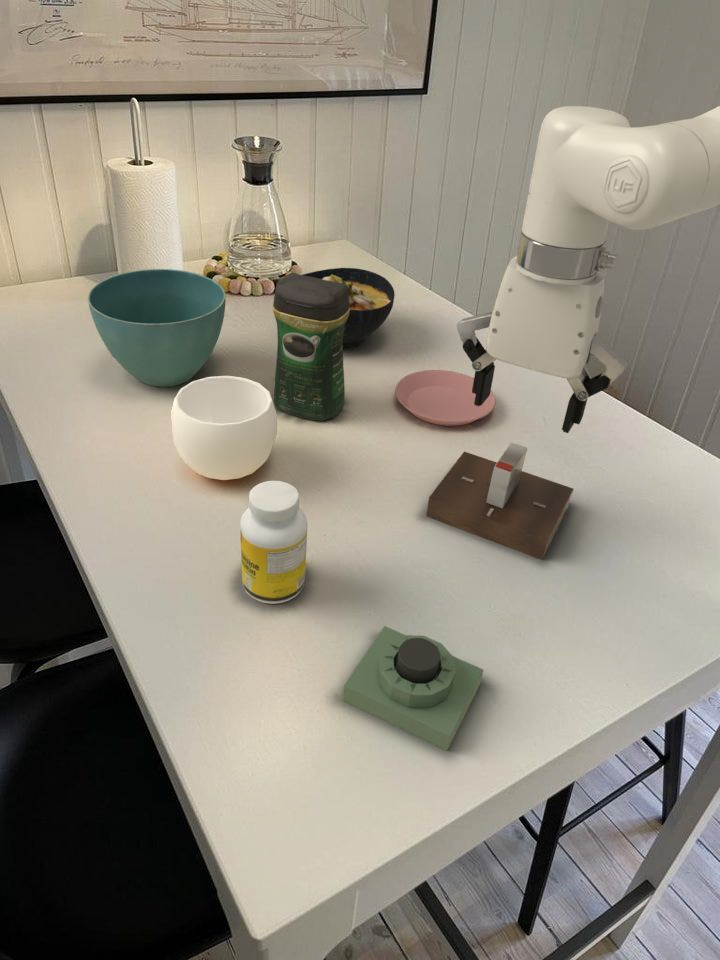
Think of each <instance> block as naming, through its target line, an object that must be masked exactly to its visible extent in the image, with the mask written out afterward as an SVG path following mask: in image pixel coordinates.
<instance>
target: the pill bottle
mask: <svg viewBox="0 0 720 960" xmlns="http://www.w3.org/2000/svg"><path fill="white" fill-rule="evenodd" d="M239 530H240V531H239V532H240V534H239V535H240V556H241V557H240V558H241V559H240V560H241V561H240V562H241V564H240V565H241V583H242V587H243V589H244V591H245V592H246V594H248V596H249V597H251V598H252V599H254V600H255V601H258V602H260V603H262V604H263V603H264V604H270V605H273V604H276V605H277V604H282V603H285V602H288V601H291V600H293V599H294V598H296V597H297V596H298V595H299V594H300V593H301V591H302V590H303V588H304V586H305V583H306V570H307V569H306V567H307V563H306V562H307V545H308V519H307V516H306V514H305V512H304V511H303V509H301V507H300V494H299V491H298V489H296V487H295V486H294V485H292V484H290V483H288V482H284V481H280V480H267V481H263V482H260V483H258V484H256V485H255V486H253V487H252V489H251V490H250V492H249V493H248V508H247V509H245V511H244V512H243V514H242V516H241V518H240V524H239Z"/></svg>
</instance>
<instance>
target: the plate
mask: <svg viewBox="0 0 720 960" xmlns="http://www.w3.org/2000/svg"><path fill="white" fill-rule="evenodd" d="M473 382H474V377H473V376H470V375H467V374H464V373H461V372H457V371H452V370H445V369H428V370H427V369H426V370H420V371H416V372H412V373H410V374H407V375H405V376H404V377H402V378H401V379H400V380H399V381H398V382H397V383H396V386H395V387H394V388H395V389H394V392H395V393H394V394H395V396H396V399H397V400H398V402H399V403H400V404H401V405H402V406H403V407H404V408H405V409H406V410H408V411H409V412H410V413H411V414H412V415H413V416H415V417H416V418H418V419H420V420H422V421H424V422H426V423H429V424H433V425H437V426H442V427H443V426H444V427H458V426H464V425H465V426H466V425H468V424H471V423H472V422H475V421H477V420H479V419H482V418H485V417H486V416H487V415H489V414H490V413H492V411H493V410H494V409H495V406H496V396H495V394H494V393H493V391H492V390H491V392H490V395H489V397H488V398H487V399H486V400H485V402H484V403H483V404H482V405H480V406H476V405H474V401H475V396H476V394H474V393H472V388H473Z"/></svg>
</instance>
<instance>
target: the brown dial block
mask: <svg viewBox="0 0 720 960" xmlns="http://www.w3.org/2000/svg"><path fill="white" fill-rule="evenodd" d="M497 462H498V461H497ZM497 462H496V461H494V460H491V459H488V458H485V457H481V456H479V455H476V454H473V453H471V452H467V451H463V452H462V453H461V455H460V456H459V457H458V459H457V460H456V461H455V463H454V464H453V465H452V467H451V468H450V469H449V470H448V472H447V473H446V474H445V476H444V477H443V478H442V480H441V481H440V482H439V484H438V485H437V486H436V488H435V489H434V490H433V492H432V493H431V494H430V496H429V497H428V502H427V508H426V515H425V517H426V518H428V519H429V518H430V519H432V520H435V521H437V522H440V523H443V524H445V525H448V526H451V527H452V528H455V529H458V530H460V531H461V530H462V531H463V532H466V533H469V534H472V535H474V536H476V537H480V538H482V539H485V540H487V541H491V542H492V543H495V544H498V545H500V546H503V547H506V548H509V549H511V550H514V551H517V552H518V553H519V552H520V553H521V554H524V555H527V556H530V557H533V558H535V559H538V560H540V561H542V560H543V559H544V557H545V555H546V552H547V551H548V549H549V547H550V545H551V543H552V541H553V538H554V536H555V535H556V532H557V531H558V529H559V527H560V525H561V522H562V521H563V519H564V517H565V514H566V512H567V511H568V508H569V505H570V502H571V499H572V495H573V493H574V488H573V487H570V486H567V485H564V484H561V483H558V482H555V481H553V480H550V479H547V478H545V477H544V478H543V477H540V476H538V475H534V474H532V473H529V472H527V471H523V470H522V472H521V476H520V480H519V483H518V485H517V486H516V488H515V489H514V491H513V493H512V494H511V496H510V497H509V499H508V501H507V502H506V504H505V505H504V507H503V508H499V507H497V506H494V505H491V504H488V503H486V501H487V497H488V492H489V487H490V483H491V478H492V474H493V469H494V467H495V465H496V464H497Z"/></svg>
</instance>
